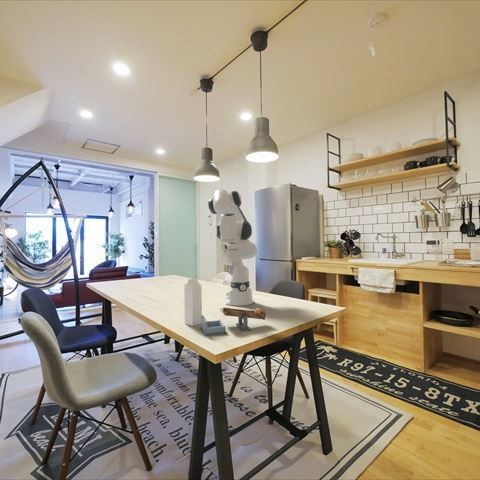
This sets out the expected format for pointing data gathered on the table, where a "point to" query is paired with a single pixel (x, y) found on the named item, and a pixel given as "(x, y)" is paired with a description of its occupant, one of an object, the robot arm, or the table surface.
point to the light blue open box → (212, 327)
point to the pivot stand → (243, 325)
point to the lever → (242, 313)
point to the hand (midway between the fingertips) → (230, 274)
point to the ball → (258, 311)
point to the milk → (193, 302)
